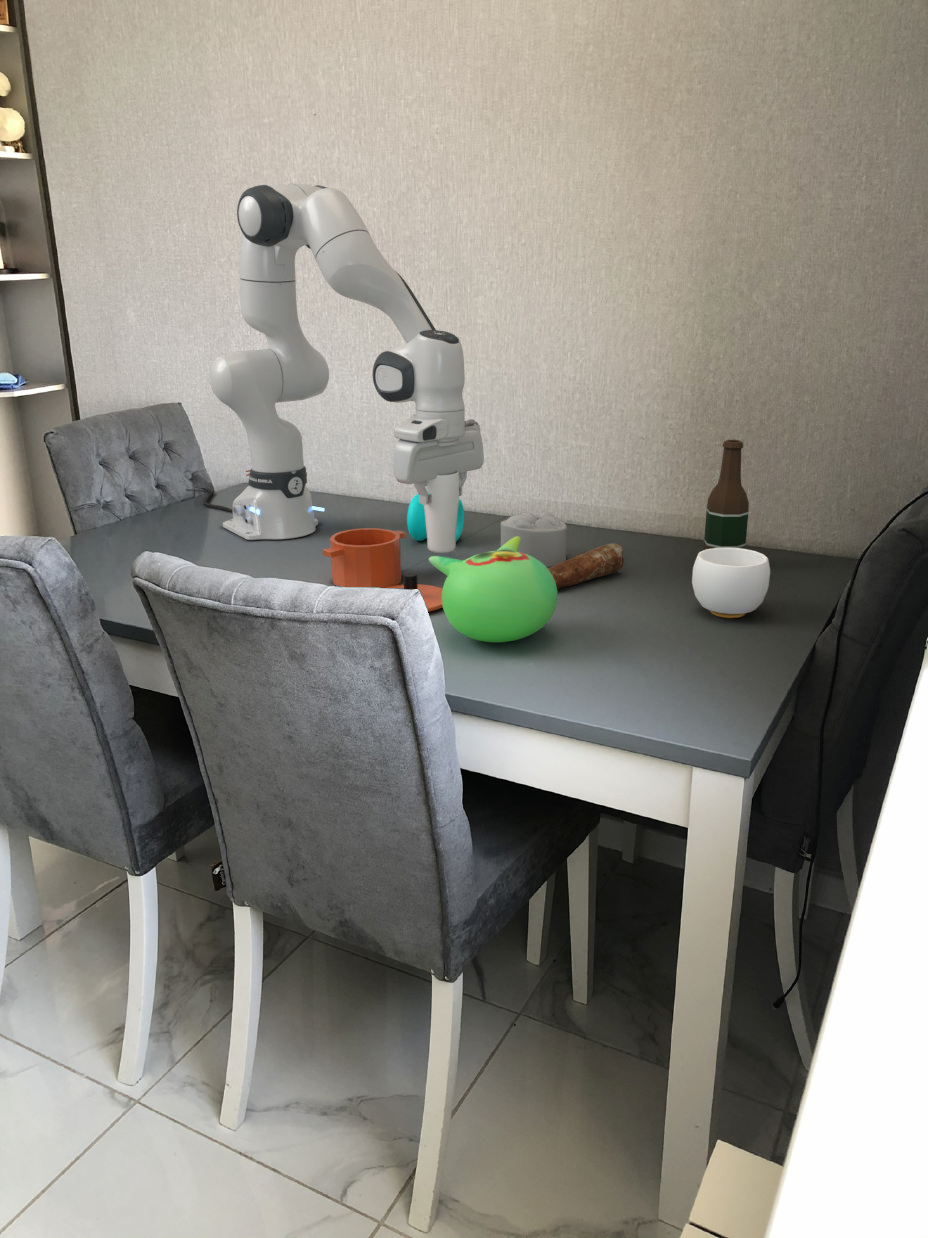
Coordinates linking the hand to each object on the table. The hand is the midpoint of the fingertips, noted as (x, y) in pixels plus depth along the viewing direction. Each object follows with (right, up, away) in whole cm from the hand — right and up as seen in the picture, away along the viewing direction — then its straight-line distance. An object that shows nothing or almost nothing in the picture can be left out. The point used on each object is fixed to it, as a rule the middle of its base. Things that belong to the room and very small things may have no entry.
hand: (440, 499), depth 179 cm
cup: (+48, -21, -18) cm, 56 cm away
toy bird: (+10, -25, -27) cm, 38 cm away
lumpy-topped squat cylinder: (+19, -10, +13) cm, 25 cm away
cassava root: (+26, -15, -1) cm, 30 cm away
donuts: (-2, -6, +26) cm, 27 cm away
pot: (-14, -15, 0) cm, 20 cm away
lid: (-5, -19, -12) cm, 23 cm away
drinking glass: (0, -9, +4) cm, 10 cm away
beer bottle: (+54, -12, +7) cm, 56 cm away
